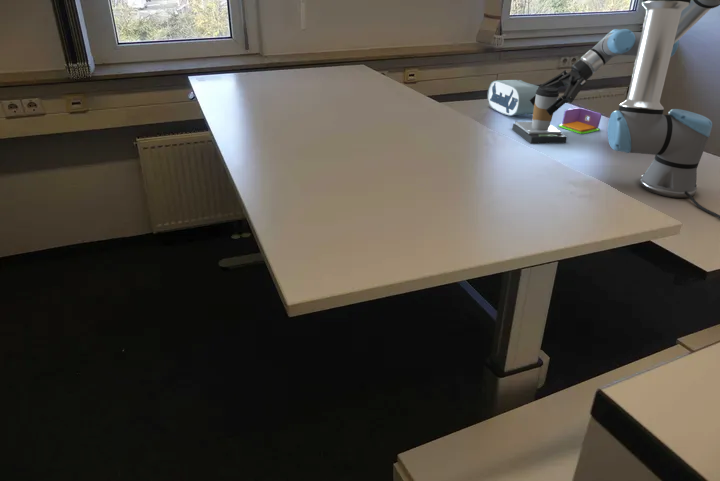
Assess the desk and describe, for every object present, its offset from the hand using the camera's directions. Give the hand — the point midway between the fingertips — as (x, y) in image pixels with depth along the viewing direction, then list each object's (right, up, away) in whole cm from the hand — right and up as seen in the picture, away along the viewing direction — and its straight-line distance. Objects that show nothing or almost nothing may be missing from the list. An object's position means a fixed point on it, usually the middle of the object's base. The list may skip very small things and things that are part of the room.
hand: (539, 107), depth 198 cm
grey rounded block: (+2, +7, +35) cm, 36 cm away
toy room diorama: (+22, -4, +17) cm, 28 cm away
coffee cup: (+2, -7, +4) cm, 8 cm away
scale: (+1, -9, +6) cm, 11 cm away
